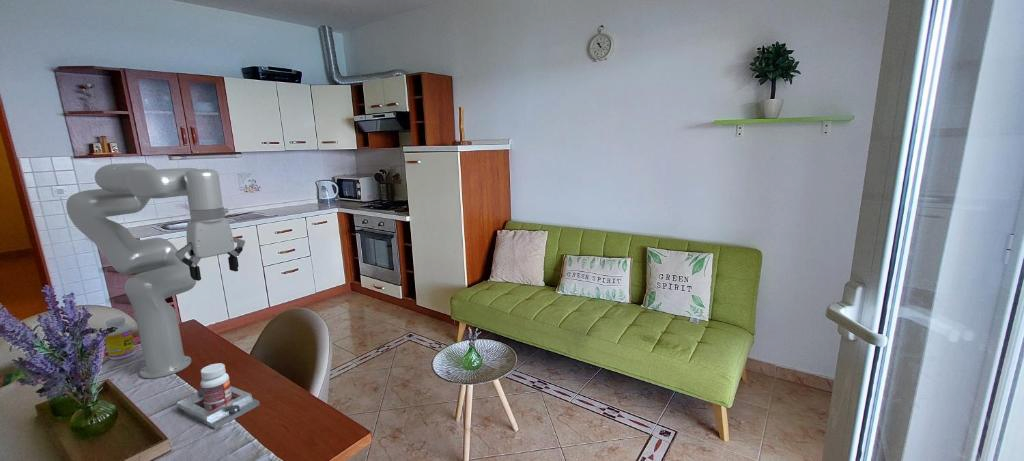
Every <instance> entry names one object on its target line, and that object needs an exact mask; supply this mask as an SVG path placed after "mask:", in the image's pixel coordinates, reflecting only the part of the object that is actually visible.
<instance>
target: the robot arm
mask: <svg viewBox="0 0 1024 461" xmlns="http://www.w3.org/2000/svg"><path fill="white" fill-rule="evenodd" d="M96 170H97V171H96V172H95V173H94V181H95V183H96V185H97V186H98V187H99V188H96V189H88V190H83V191H82V190H81V191H78V192H76V193H73V194H71V195H70V196H69V197H68V198H67V200H66V204H65V208H66V211H67V215H68V217H69V219H70V221H71V223H72V225H74V226H75V227H76V229H78V230H79V231H80V232H81V233H82V234H83V235H84V236H86V237H87V238H88V239H89V240H90V241H92V242H93V243H94V245H95V246H96V247H97V249H99V252H101V254H102V255H103V256H104V257H105V259H106V260H107V261H108V262H109V264H110V265H111V266H112V267H113V268H114V270H115V271H117V272H118V273H119V274H121V275H132V276H130V277H129V278H128V279H127V280H126V282H125V284H124V291H125V294H126V296H127V298H128V300H129V302H130V305H131V307H132V310H133V314H134V317H135V322H136V326H137V330H138V331H137V332H138V335H139V341H140V345H141V350H142V354H143V355H142V356H143V360H144V366H143V367H142V368H141V369H140V370H139V376H140V377H141V378H144V379H157V378H162V377H167V376H170V375H173V374H176V373H178V372H181V371H183V370H185V369H186V368H188V367H189V366H190V365H191V363H192V358H191V357H190V356H189V355H188V356H187V355H185V353H184V352H185V351H184V347H183V342H182V336H181V331H180V325H179V321H178V320H179V319H178V315H177V312H176V310H175V308H174V307H173V306H172V305H171V304H170V303H168V302H167V301H166V299H168V298H171V297H174V296H177V295H180V294H184V293H186V292H189V291H191V290H193V288H195V286H196V285H197V282H199V281H202V276H201V270H200V268H201V267H200V266H199V265H198V264H199V262H200V261H201V259H205V258H209V257H210V258H211V257H216V256H219V255H225V254H227V255H229V256H228V258H227V261H228V267H229V270H230V271H231V272H235V273H236V272H238V271H239V259H238V258H239V257H240V255H241V253H242V251H244V246H245V243H246V241H245V240H244V239H242V238H241V239H240V238H237V237H234V236H233V232H232V228H231V225H230V223H229V219H228V218H226V217H225V216H226V215H225V214H228V213H229V209H228V208H224V204H223V203H224V202H223V196H222V190H221V185H220V184H221V182H220V176H219V173H218V171H216V170H215V169H209V168H208V169H205V168H203V169H199V168H193V167H181V168H163V169H162V168H160V169H159V168H157V169H156V167H155V166H153V165H152V164H149V163H145V162H131V163H130V162H128V163H127V162H126V163H109V164H107V165H104V166H101V167H99V169H96ZM185 196H187V197H186V198H187V202H188V210H189V218H190V220H189V221H187V224H186V245H184V246H183V247H181V248H180V249H178V248H176V246H175V245H174V244H173V243H172V242H171V241H169V240H168V239H166V238H163V237H152V238H145V239H137V237H136V238H135V236H133V233H131V231H130V230H129V229H128V228H126V227H125V226H124V225H122V224H120V223H119V222H117V221H114V220H111V219H109V218H107V217H115V216H123V215H124V216H125V215H131V214H137V213H139V212H141V211H143V209H145V207H146V206H147V205H148V203H149V201H150V200H152V199H168V198H175V197H185ZM235 243H236V244H237V245H236V247H235ZM186 254H187V255H188V256H189V258H187V256H186ZM133 274H134V275H133Z"/></svg>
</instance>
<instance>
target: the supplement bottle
mask: <svg viewBox="0 0 1024 461" xmlns="http://www.w3.org/2000/svg"><path fill="white" fill-rule="evenodd" d="M105 325H106V327H107V328H111V327H117V328H118V329H117V330H116V331H115V332H113V333H112V334H109V335H108V336H107V338H106V342H105V346H106V350H107V356H108V359H109V360H113V361H119V360H123V358H124V359H126V357H127V358H129V357H131V356H133V355H135V353H136V348H135V342H134V338H133V333H132V327H131V326H130V325H129V324H127V323H126V318H125V317H123V316H122V317H121V316H120V317H114V318H110V319H107V320H106V321H105Z"/></svg>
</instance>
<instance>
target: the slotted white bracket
mask: <svg viewBox="0 0 1024 461" xmlns="http://www.w3.org/2000/svg"><path fill="white" fill-rule="evenodd" d="M230 387H231V393H232V399H233V400H232V401H230V402H228V403H226V404H224V405H222V406H220V407H218V408H216V409H214V410H212V411H208V410H206V409H205V408H204V401H203V395H202V390H201V389H199V390H198V391H197V392H196V393H195V394H192V395H191V396H188V397H186V398H183V399H182V400H180V401H178V402H176V406H177V412H180V414H181V413H182V414H183V415H186V416H188V417H190V418H192V419H194V420H196V421H198V422H200V423H202V424H204V425H206V426H208V427H209V428H212V429H215V430H216V429H218V428H220V427H222V426H224V425H225V424H228V423H229V422H231V421H233V420H235V419H237V418H239V417H240V416H243V415H244V414H247V412H250V411H252V410H253V409H255V408H257V407H259V406H260V401H259V400H258V399H255V398H254V397H253V396H252V393H250V392H247V391H244V390H241V389H239V388H237V387H234V386H232V385H230Z"/></svg>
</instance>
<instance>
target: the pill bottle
mask: <svg viewBox="0 0 1024 461" xmlns="http://www.w3.org/2000/svg"><path fill="white" fill-rule="evenodd" d="M200 374H201V381H200V390H202V395H203V401H204V407H205V408H204V409H206V410H208V411H212V410H214V409H216V408H218V407H220V406H222V405H224V404H226V403H228V402H230V401H232V400H233V399H232V393H231V387H230V386H231V380H230V376H229V374H228V372H227V371H226V365H225V364H224V363H222V362H221V363H219V362H218V363H213V364H212V363H211V364H208V365H207V366H204V367H202V369H200Z"/></svg>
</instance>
